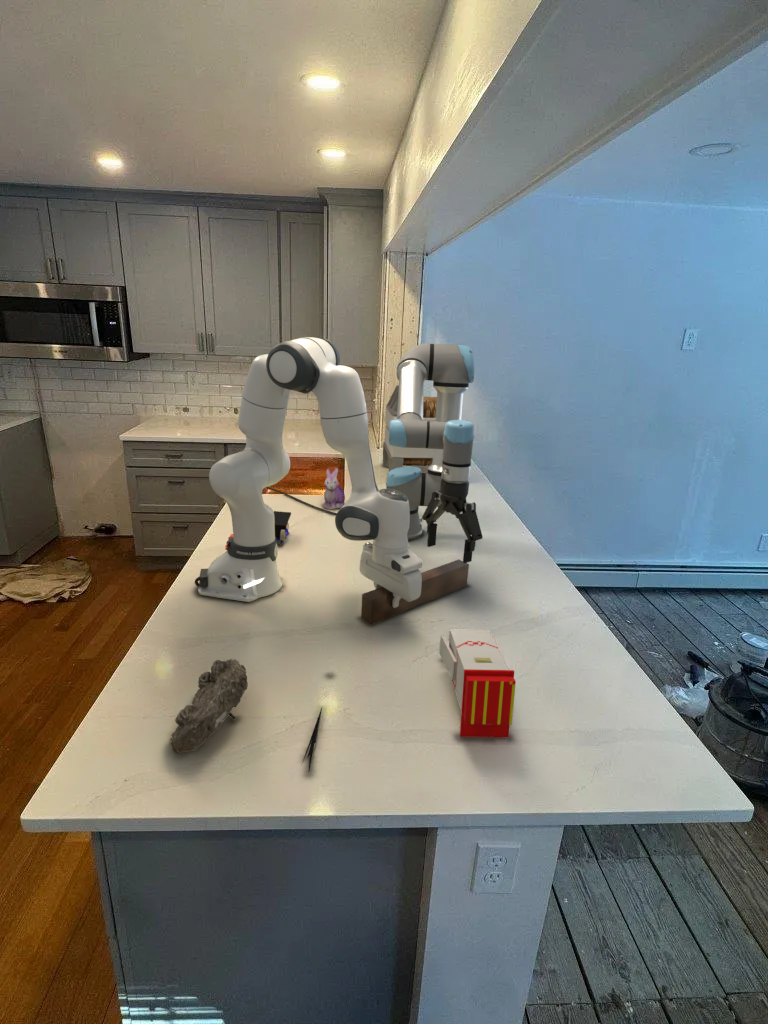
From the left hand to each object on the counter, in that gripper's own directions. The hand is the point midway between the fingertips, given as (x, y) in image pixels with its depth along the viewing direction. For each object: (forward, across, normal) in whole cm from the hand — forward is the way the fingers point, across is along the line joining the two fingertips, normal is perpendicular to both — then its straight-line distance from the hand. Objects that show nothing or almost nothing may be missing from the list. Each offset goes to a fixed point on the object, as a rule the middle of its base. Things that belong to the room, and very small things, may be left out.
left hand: (387, 602), depth 146 cm
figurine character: (+3, -59, +3) cm, 59 cm away
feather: (+3, +23, -37) cm, 43 cm away
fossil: (+3, +10, -52) cm, 53 cm away
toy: (+3, +35, -7) cm, 36 cm away
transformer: (+3, -92, +100) cm, 136 cm away
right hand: (-8, 0, +22) cm, 23 cm away
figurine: (+3, -76, +38) cm, 85 cm away
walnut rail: (+3, 0, +11) cm, 11 cm away
